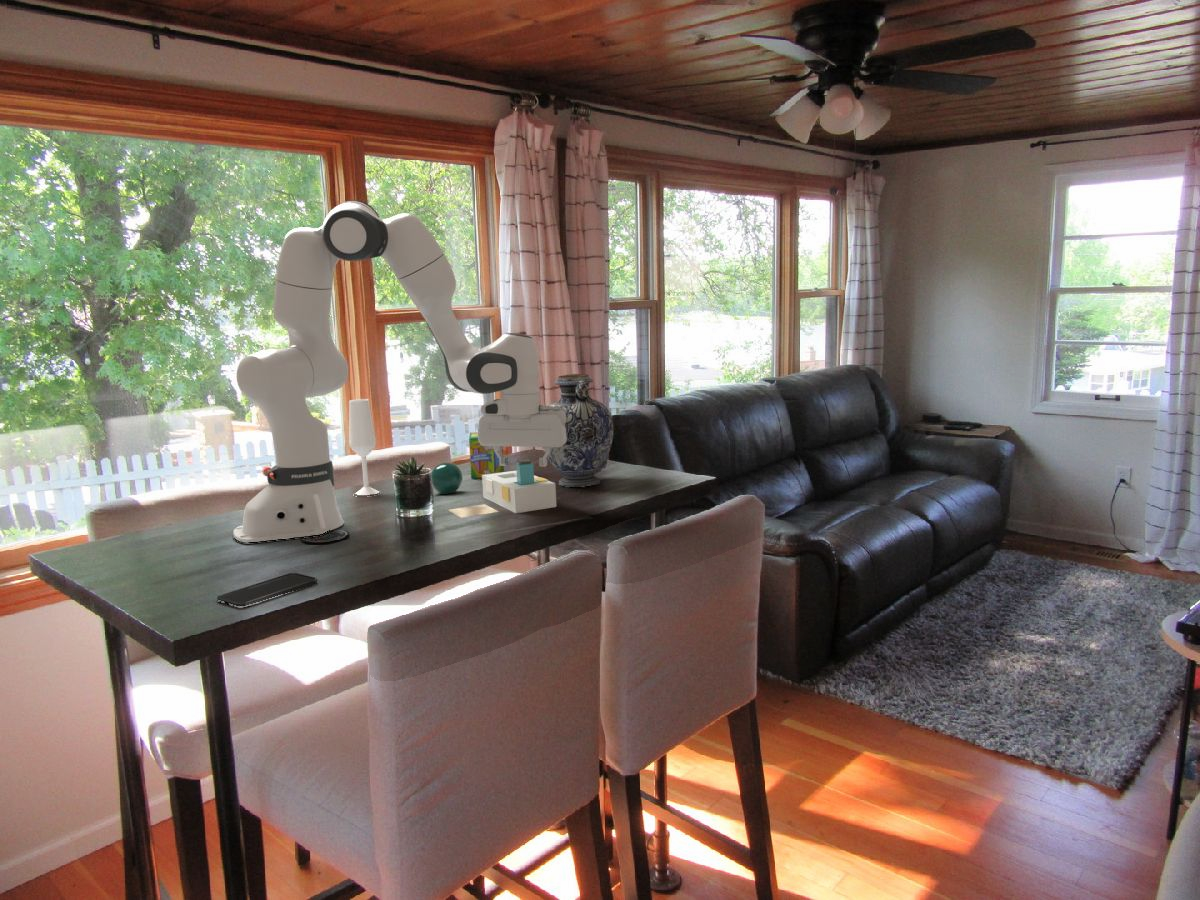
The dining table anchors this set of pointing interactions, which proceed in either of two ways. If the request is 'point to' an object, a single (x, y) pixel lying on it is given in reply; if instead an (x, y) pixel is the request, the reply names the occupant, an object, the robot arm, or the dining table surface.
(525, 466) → the plug
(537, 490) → the block
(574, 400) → the decorative vase
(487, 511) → the coaster
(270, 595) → the phone
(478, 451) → the chalk box
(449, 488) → the sphere
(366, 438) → the champagne flute
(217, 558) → the dining table surface
